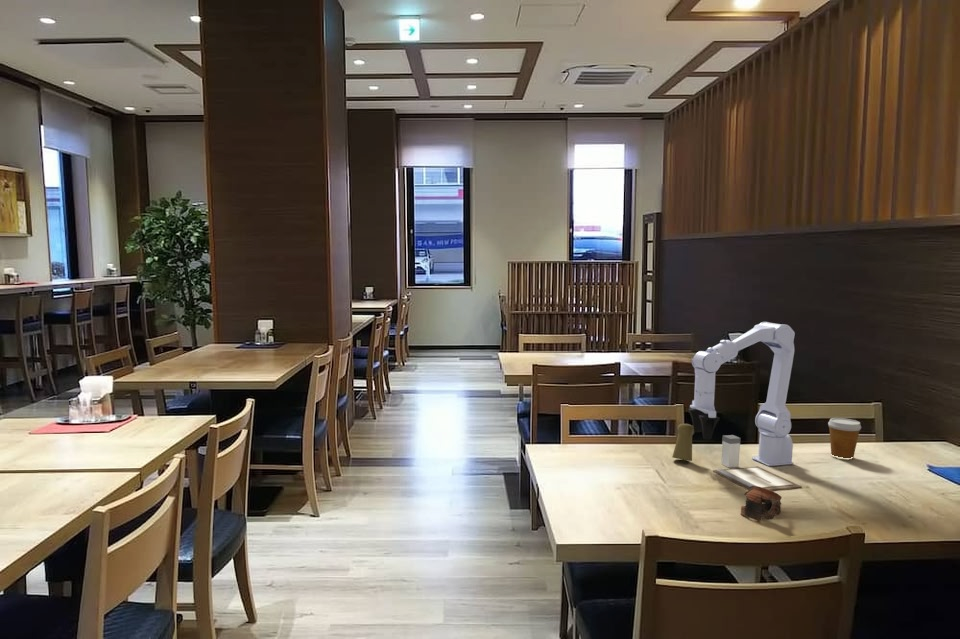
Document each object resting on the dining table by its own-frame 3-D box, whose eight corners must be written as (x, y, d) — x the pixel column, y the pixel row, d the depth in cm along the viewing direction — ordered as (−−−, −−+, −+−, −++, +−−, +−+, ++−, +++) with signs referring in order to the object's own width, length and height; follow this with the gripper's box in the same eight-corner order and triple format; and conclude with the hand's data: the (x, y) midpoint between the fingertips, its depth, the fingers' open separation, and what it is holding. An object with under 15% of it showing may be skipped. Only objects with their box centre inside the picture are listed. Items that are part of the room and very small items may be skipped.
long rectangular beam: (731, 463, 206) (732, 434, 205) (738, 466, 202) (740, 438, 201) (720, 463, 205) (722, 435, 204) (728, 467, 201) (730, 438, 200)
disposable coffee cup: (865, 462, 209) (868, 425, 208) (835, 461, 210) (837, 424, 208) (848, 453, 219) (851, 417, 218) (820, 452, 219) (822, 417, 218)
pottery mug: (729, 512, 167) (740, 481, 169) (761, 527, 168) (770, 497, 170) (759, 518, 155) (770, 485, 157) (792, 534, 157) (802, 502, 158)
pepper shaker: (689, 460, 208) (694, 426, 210) (694, 461, 202) (698, 425, 204) (670, 457, 209) (675, 422, 211) (674, 457, 203) (678, 421, 205)
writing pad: (757, 467, 202) (757, 464, 201) (801, 487, 184) (801, 484, 184) (712, 471, 197) (712, 468, 197) (753, 492, 180) (753, 489, 180)
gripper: (683, 386, 205) (681, 429, 207) (700, 396, 191) (697, 442, 192) (705, 386, 206) (703, 429, 207) (724, 396, 191) (721, 442, 192)
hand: (702, 435), depth 200 cm, fingers open, 7 cm apart
